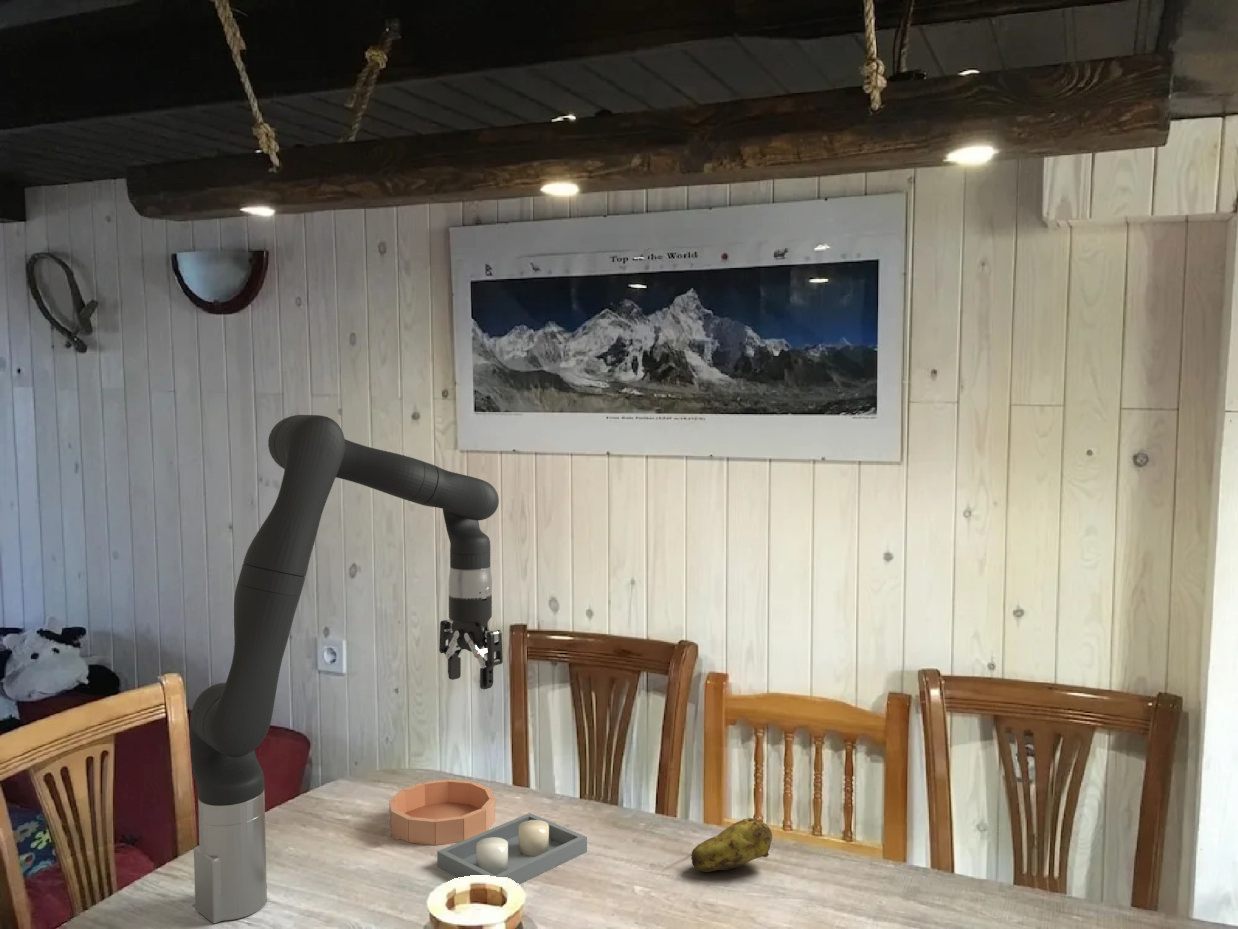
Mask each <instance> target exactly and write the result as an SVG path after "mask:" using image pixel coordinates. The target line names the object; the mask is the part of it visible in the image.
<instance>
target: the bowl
mask: <svg viewBox="0 0 1238 929" xmlns="http://www.w3.org/2000/svg"><path fill="white" fill-rule="evenodd" d="M388 802H389V803H388V806H389V808H388V809H389V811H388V812H389V813H388V814H389V815H388V816H389V819H388V820H389V826H390V835H391V838H392V839H393V840H394V841H397V840H400V839H401V840H403V841H404V842H407V843H412V844H418V845H419V844H420V845H427V846H428V845H431V846H439V845H447V844H449V845H450V844H456V843H459V842H461V841H463V840H466V839H468V838H471V837H473V836H475V835H478V834H480V833H483V832H485V831H488V830H490V829H491V827H492V825H493V824H494V823H495V821H496V798H495V796H494V793H493V792H492V789H491V788H490V787H488V786H486V785H483V784H481V783H478V782H476V781H471V780H462V779H461V780H459V779H450V778H449V779H439V780H431V781H423V782H420V783H417V784H414V785H411V786H408V787H406V788H402V789H400V790H399V791H398V792H397V793H396V794H394V796H392V797H391V798H390V799H389V800H388Z"/></svg>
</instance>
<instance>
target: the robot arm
mask: <svg viewBox="0 0 1238 929" xmlns="http://www.w3.org/2000/svg"><path fill="white" fill-rule="evenodd" d="M267 442H268V444H267V445H268V450H269V454H270V456H271V458H272V459H273V461H274V462H275V463H276V465H278V466H279V467H280V468H282V469H283V477H282V479H281V483H280V484H281V485H280V488H279V491H278V494H277V497H276V499H275V503H274V504H273V506H272V509H270V510H271V511H270V512H269V514H268V515H267V517H266V518H265V520H264V521H263V522H262V525H261V526H260V528H259V530H258V531H257V533H256V534H255V536H254V537H253V539H252V541H251V543H250V544H249V546H248V548H247V551H246V553H245V555H244V558H243V562H242V566H241V569H240V573H239V576H238V578H237V579H238V580H237V583H236V586H235V591H234V596H233V598H234V599H233V633H234V634H233V635H234V637H233V639H234V645H233V646H234V647H233V656H232V661H231V666H230V669H229V672H228V674H227V678H226V681H225V682H221V683H215V684H212V685H211V686H209V687H207V688H206V689H204V690H202V692H201V693H200V694H199V695H198V697H197V698H196V700H195V701H194V704H193V706H192V708H191V711H190V718H189V739H190V741H189V742H190V753H191V766H192V775H193V778H194V780H195V784H196V788H197V800H198V801H197V802H198V803H197V805H198V836H199V838H198V842H199V845H197V846H195V847H194V848H193V868H194V869H193V870H194V872H193V873H194V900H195V902H194V903H195V911H197V912H199V914H201V915H202V916H203V917H205V918H206V919H207V920H209V921H210V922H211V923H212V924H217V923H220V922H222V921H232V920H238V919H243V918H245V917H248V916H251V915H253V914H255V913H257V912H258V911H259V910H261V909H263V907H264V906H266V903H267V901H268V890H267V889H268V884H267V848H266V846H267V844H266V839H267V838H266V807H265V806H266V804H265V803H266V802H265V800H266V799H265V796H266V795H265V776H264V775H265V774H264V771H263V768H262V767H261V764H260V763H259V760H258V758H257V754H256V751H255V750H256V749H258V747H259V746H260V745H261V744H262V743H263V741H264V739H265V738H266V736H267V734H268V732H269V729H270V726H271V722H272V719H273V712H274V709H275V708H274V706H275V700H276V695H277V688H278V684H279V677H280V670H281V666H282V662H283V658H284V653H285V650H286V648H287V645H288V641H289V638H290V634H291V628H292V625H293V621H294V618H295V614H296V611H297V608H298V606H299V602H300V599H301V595H302V591H303V587H304V583H305V581H306V576H307V573H308V569H309V564H310V559H311V556H312V552H313V549H314V545H315V541H316V538H317V534H318V530H319V526H320V522H321V519H322V516H323V513H324V509H325V506H326V503H327V500H328V498H329V495H330V493H331V490H332V488H333V485H334V483H335V481H336V478H337V479H340V480H345V481H348V482H352V483H355V484H358V485H362V486H364V487H368V488H370V489H373V490H376V491H379V492H382V493H385V494H388V495H390V496H394V497H396V498H399V499H402V500H405V501H408V502H412V503H414V504H417V505H421V506H425V507H431V508H437V509H442V514H443V518H444V524H445V528H446V532H447V536H448V539H449V544H450V545H449V546H450V547H449V548H450V549H449V565H450V566H449V576H448V619H445V620H444V619H443V620H441V621H440V624H439V652H440V654H444V655H445V658H446V659H447V674H448V675H447V676H448V679H449V680H452V681H453V680H454V681H455V680H458V679H461V676H462V675H461V674H462V672H461V670H462V669H461V668H462V667H461V665H462V664H461V662H462V661H461V660H462V659H461V655H462V653H463V651H464V650H466V651H468V652H471V653H472V655H473V657H474V658H476V659H477V660H478V662H479V665H480V669H479V677H480V678H479V687H480V689H481V690H488V689H491V688H492V687H493V685H494V669H495V667H496V666H499V665H502V664H503V661H504V659H503V658H504V657H503V639H502V638H503V636H502V630H501V629H496V630H491V629H490V627H489V622H490V620H491V618H492V617H493V597H492V596H493V577H492V570H491V540H490V537H489V536H488V535H487V534H485V532H483V531H482V530H481V527H480V523H479V522H480V521H484V520H487V519H488V518H490V517H492V516H493V515H494V514H495V513H496V511H497V509H498V507H499V502H500V500H499V499H500V498H499V495H498V491H497V490H496V488H495V487H494V485H492V484H491V483H489V482H488V481H486V480H485V479H480V478H478V477H474V476H471V475H465V474H463V473H458V472H453V471H449V470H447V469H444V468H442V467H439V466H437V465H435V464H432V463H429V462H426V461H423V460H420V459H417V458H414V457H411V456H407V455H404V454H400V453H395V452H391V451H387V450H383V449H379V448H374V447H370V446H366V445H363V444H361V443H356V442H354V441H351V440H348V439H346V438H345V434H344V432H343V430H342V428H341V425H340V424H339V423H337V421H335V420H334V419H332V418H331V417H328V416H326V415H321V414H319V415H318V414H295V415H291V416H288V417H285V418H283V419H281V420H280V421H278V422H277V423H275V425H274V426H273V427H272V429H271V431H270V433H269V436H268V439H267ZM446 642H447V643H446ZM483 647H484V648H483ZM482 648H483V649H482ZM485 658H486V659H485Z"/></svg>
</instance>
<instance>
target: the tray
mask: <svg viewBox="0 0 1238 929" xmlns="http://www.w3.org/2000/svg"><path fill="white" fill-rule="evenodd" d="M529 820H541V821H544V822H546V823H548V825H549V851H547V852H545V853H543V854H541V855H539V856H535V857H530V856H525V855H522V854H521V853H520V852H519V825H520V824H521V823H523V822H525V821H529ZM490 837H498V838H502V839H505V840H506V841H507V842H508V870H506V871H504V872H502V873H500V874H497V875H493V874H491V873H489V872H487V871H485V870H483V869H481V868H479V867H477V866H476V844H477V843H478V842H479V841H480V840H482V839H485V838H490ZM587 852H588V836H586V835H583V834H581V833H579V832H576V831H574V830H572V829H569V828H567V827H564V826H561V825H560V824H557V823H555V822H552V821H551V820H547V819H545V818H544V817H543V818H542V817H541V816H537V815H535V814H533V813H531V812H529V813H526V814H524V815H521V816H519V817H517V818H514V819H512V820H509V821H507V822H505V823H502V824H499V825H498V826H495V827H492V828H489V829H488V830H487V831H485V832H483V833H480V834H478V835H475V836H473V837H471V838H468V839H466V840H463V841H461V842H456V843H453V844H451V845H450V846H447V847H445V848H442V849H440V850H437V854H436V856H437V862H436V864H437V868H439V869H441V870H443V871H445V872H447V873H449V874H450V875H452V876H454V877H456V878H458V877H464V876H470V875H490V876H496V877H508V878H511V879H512V880H514V881H515V882H516V883H519V885H521V884H523V883H526V882H528V881H530V880H531V879H532V880H533V879H534V878H536V877H538V876H541V875H542V874H544V873H546V872H548V871H550V870H553V869H554V868H557V867H558V866H561V865H563V864H565V863H567V862H570V861H571V860H573V859H575V858H577V857H580V856H581V855H584V854H585V853H587Z"/></svg>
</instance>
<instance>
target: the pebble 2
mask: <svg viewBox="0 0 1238 929" xmlns="http://www.w3.org/2000/svg"><path fill="white" fill-rule="evenodd" d="M547 851H549V825H548V823H546V822H544V821H541V820H529V821H525V822H523V823H521V824H520V825H519V852H520V853H521V854H522V855H525V856H530V857H535V856H539V855H541V854H543V853H545V852H547Z"/></svg>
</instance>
